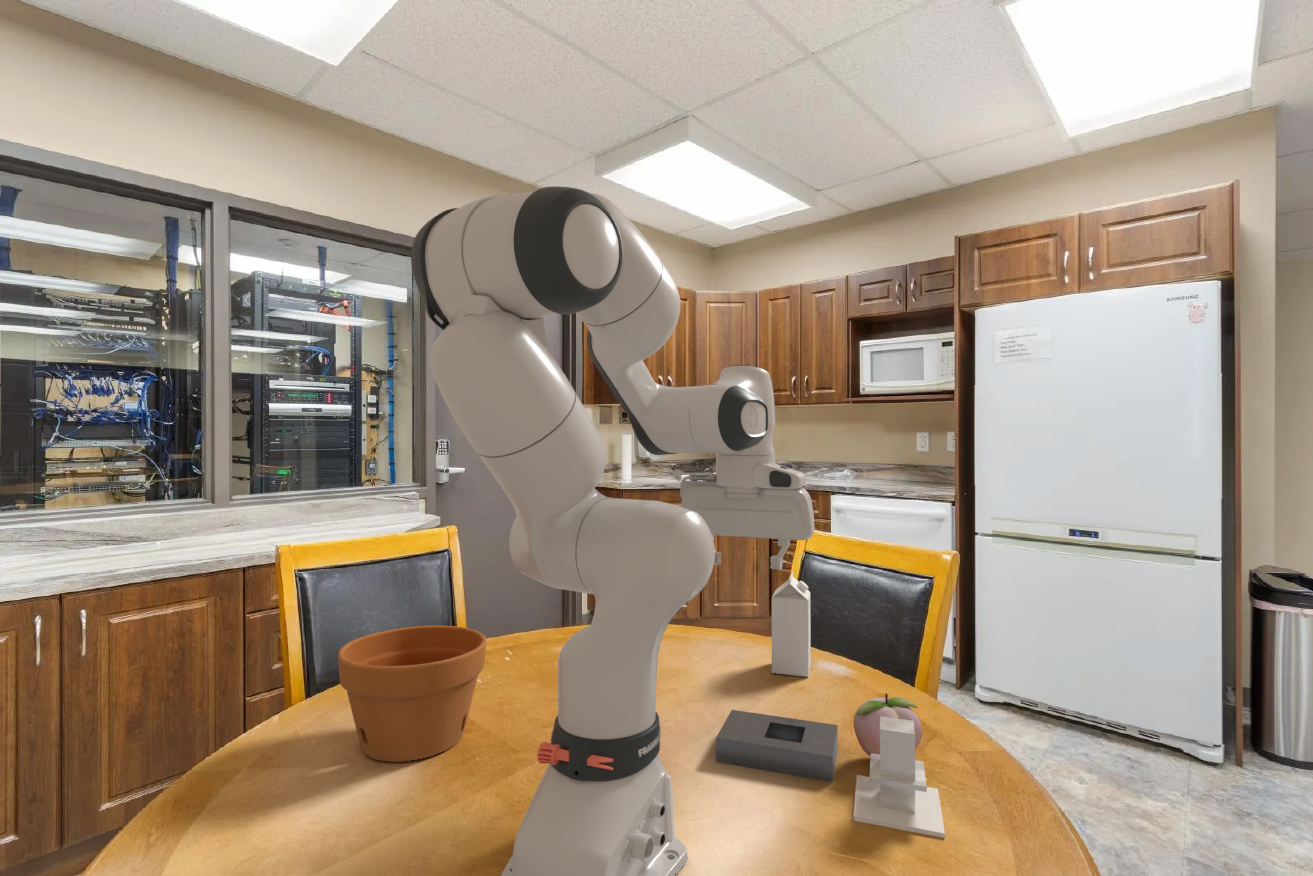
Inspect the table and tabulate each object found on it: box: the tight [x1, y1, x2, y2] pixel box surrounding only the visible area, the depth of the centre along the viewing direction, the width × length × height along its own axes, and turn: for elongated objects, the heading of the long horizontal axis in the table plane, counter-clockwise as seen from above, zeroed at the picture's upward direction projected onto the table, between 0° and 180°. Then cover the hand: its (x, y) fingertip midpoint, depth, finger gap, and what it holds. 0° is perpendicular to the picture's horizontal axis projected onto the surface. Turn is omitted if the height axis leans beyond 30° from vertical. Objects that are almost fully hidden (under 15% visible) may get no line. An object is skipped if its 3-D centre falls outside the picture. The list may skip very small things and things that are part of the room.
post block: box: [715, 709, 839, 783], centre depth 92 cm, size 10×16×4 cm, turn 70°
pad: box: [852, 774, 946, 839], centre depth 79 cm, size 10×10×1 cm
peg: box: [869, 716, 928, 813], centre depth 79 cm, size 6×6×10 cm
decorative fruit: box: [853, 693, 923, 757], centre depth 89 cm, size 9×8×10 cm
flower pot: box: [337, 624, 487, 763], centre depth 96 cm, size 21×21×15 cm
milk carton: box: [771, 571, 812, 678], centre depth 127 cm, size 7×7×19 cm
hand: (745, 566), depth 95 cm, fingers open, 8 cm apart
